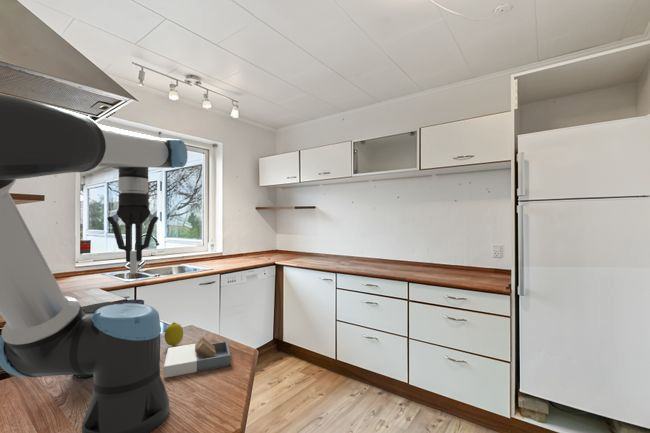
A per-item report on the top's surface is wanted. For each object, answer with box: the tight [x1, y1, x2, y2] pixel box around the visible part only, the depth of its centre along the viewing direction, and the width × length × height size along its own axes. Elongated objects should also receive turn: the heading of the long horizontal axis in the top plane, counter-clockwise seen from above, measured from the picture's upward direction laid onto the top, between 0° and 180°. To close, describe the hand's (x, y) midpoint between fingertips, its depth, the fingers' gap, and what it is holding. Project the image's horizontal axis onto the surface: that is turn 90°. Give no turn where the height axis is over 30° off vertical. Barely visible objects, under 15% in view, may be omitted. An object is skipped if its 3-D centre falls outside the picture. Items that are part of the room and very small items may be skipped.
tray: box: [196, 340, 231, 373], centre depth 90 cm, size 11×9×3 cm
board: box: [163, 343, 198, 379], centre depth 88 cm, size 13×8×3 cm, turn 23°
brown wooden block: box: [194, 336, 216, 359], centre depth 90 cm, size 5×5×3 cm
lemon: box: [164, 321, 184, 347], centre depth 100 cm, size 6×6×8 cm
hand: (134, 272), depth 90 cm, fingers closed
